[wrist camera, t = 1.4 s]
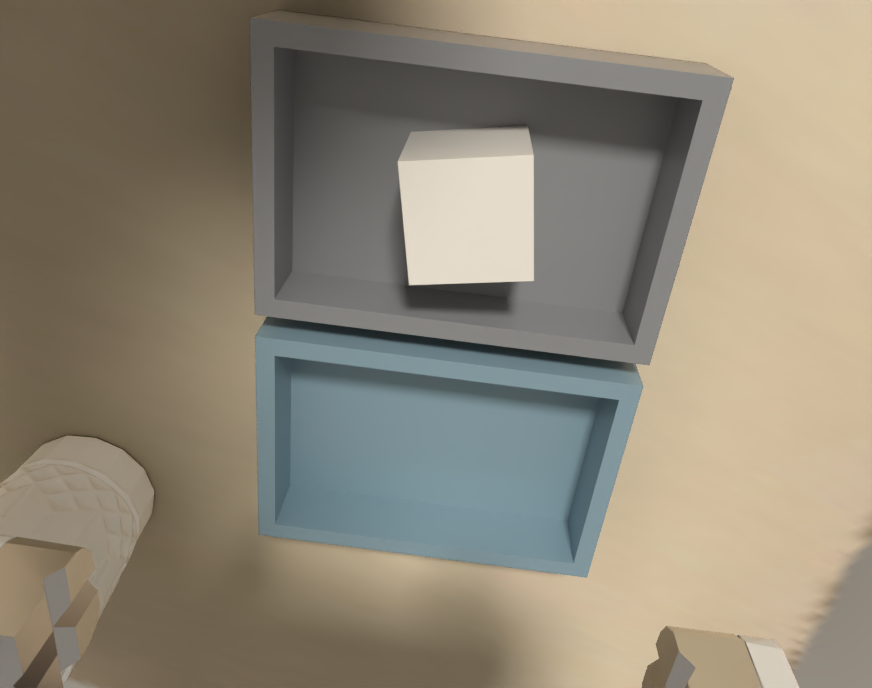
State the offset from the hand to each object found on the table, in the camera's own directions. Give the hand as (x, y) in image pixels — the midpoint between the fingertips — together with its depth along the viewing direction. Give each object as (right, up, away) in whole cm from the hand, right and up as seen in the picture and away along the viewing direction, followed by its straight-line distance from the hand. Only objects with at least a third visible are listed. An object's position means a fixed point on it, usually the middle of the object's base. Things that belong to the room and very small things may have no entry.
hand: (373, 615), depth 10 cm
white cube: (+2, +10, +18) cm, 21 cm away
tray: (+2, +10, +19) cm, 22 cm away
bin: (+1, 0, +25) cm, 25 cm away
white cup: (-18, -4, +29) cm, 34 cm away
